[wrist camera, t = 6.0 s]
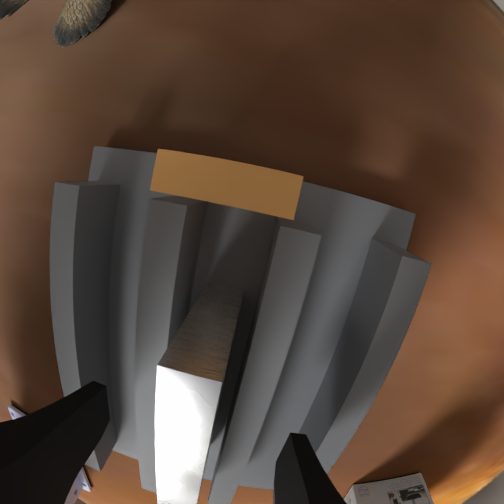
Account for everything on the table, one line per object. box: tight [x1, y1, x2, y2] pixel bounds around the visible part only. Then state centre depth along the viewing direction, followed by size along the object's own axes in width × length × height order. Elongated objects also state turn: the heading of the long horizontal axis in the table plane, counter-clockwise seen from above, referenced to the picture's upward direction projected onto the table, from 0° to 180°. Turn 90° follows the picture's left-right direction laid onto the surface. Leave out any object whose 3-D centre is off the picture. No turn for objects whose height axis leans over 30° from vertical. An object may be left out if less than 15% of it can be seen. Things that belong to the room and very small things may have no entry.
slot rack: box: [50, 146, 431, 504], centre depth 10 cm, size 19×14×7 cm
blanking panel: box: [155, 283, 244, 504], centre depth 10 cm, size 10×2×6 cm, turn 168°
